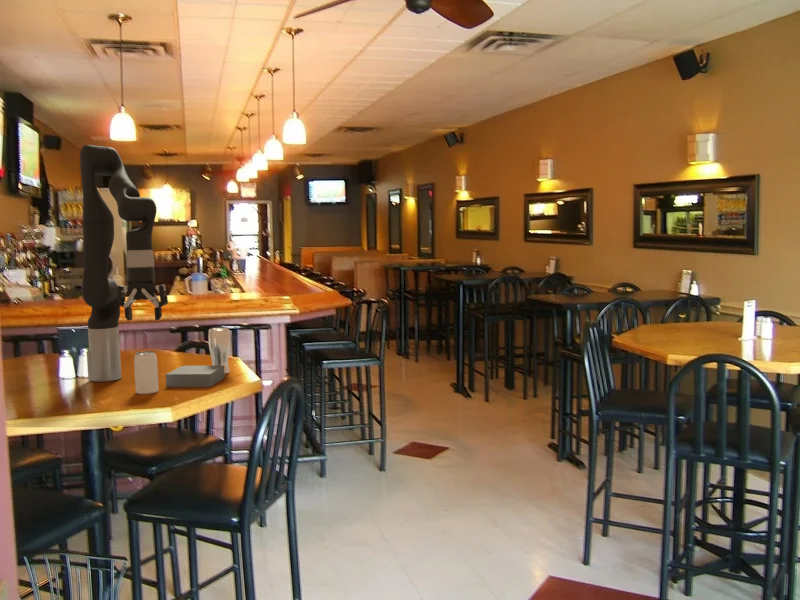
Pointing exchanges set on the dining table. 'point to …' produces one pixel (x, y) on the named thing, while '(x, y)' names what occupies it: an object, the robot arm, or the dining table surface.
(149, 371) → the can
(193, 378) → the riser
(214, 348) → the beer glass
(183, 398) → the dining table surface
